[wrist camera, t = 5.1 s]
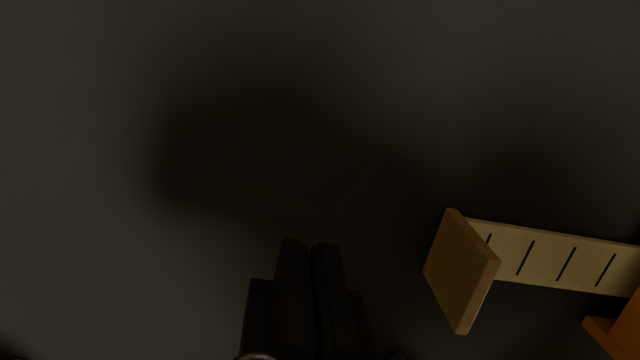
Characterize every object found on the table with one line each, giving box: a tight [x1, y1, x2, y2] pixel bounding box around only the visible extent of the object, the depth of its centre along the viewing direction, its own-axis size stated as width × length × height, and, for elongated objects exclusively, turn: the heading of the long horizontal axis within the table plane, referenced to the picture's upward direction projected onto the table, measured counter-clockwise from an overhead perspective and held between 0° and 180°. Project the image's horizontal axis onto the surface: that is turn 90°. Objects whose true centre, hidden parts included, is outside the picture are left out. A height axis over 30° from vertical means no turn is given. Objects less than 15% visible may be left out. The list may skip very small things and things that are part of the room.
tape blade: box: [422, 208, 640, 335], centre depth 15 cm, size 12×3×4 cm, turn 78°
